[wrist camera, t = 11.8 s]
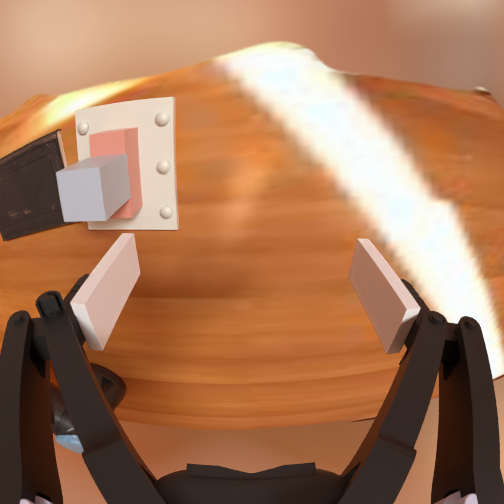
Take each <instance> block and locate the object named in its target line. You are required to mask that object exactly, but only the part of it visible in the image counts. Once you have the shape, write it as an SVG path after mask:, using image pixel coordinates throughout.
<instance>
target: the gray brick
mask: <svg viewBox="0 0 504 504" xmlns="http://www.w3.org/2000/svg"><path fill="white" fill-rule="evenodd" d="M56 176H57V183H58V190H59V196H60V202H61V207H62V213H63V218H64V222H78V221H107V220H108V219H109V218H110V217H111V216H112V215H113V214H114V213H115V212H116V211H117V210H118V209H119V208H120V207H121V206H122V205H123V204H125V203H126V202H127V201H128V200H129V199H130V198H131V194H130V184H129V172H128V158H127V154H116V155H106V156H97V157H88V158H86V159H84V160H81V161H79V162H77V163H75V164H73V165H70V166H68V167H66V168H64V169H62V170H60V171H58V172H56Z"/></svg>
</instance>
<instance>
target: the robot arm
mask: <svg viewBox="0 0 504 504" xmlns="http://www.w3.org/2000/svg"><path fill="white" fill-rule="evenodd" d="M139 275H140V268H139V262H138V257H137V251H136V244H135V238H134V233H122V234H121V236H120V237H119V238H118V239H117V240H116V242H115V243H114V244H113V245H112V247H111V248H110V249H109V250H108V252H107V253H106V254H105V256H104V257H103V258H102V259H101V261H100V262H99V263H98V265H97V266H96V267H95V269H94V270H93V271H92V273H91V274H85V275H84V276H83V277H81V278H80V279H79V280H78V281H77V282H76V284H75V285H74V286H73V288H72V289H71V291H70V292H69V293H68V294H67V296H66V297H65V299H64V300H62V297H61V294H60V293H59V292H57V291H48V292H45V293H43V294H42V295H40V296H39V297H38V298H37V300H36V304H35V305H36V307H37V309H38V312H39V314H40V316H41V318H33V319H31V317H30V315H29V313H28V312H27V311H25V310H23V311H18V312H15V313H14V314H13V315H12V316H11V317H10V318H9V320H8V323H7V327H6V331H5V335H4V340H3V344H2V349H1V354H0V504H63V496H62V491H61V484H60V479H59V474H58V469H57V463H56V457H55V450H54V442H53V433H54V434H55V435H56V441H57V443H58V444H60V445H61V446H63V447H65V448H67V449H69V450H72V451H74V452H77V453H81V454H82V457H83V459H84V462H85V464H86V466H87V468H88V470H89V471H90V474H91V475H92V478H93V479H94V481H95V483H96V485H97V487H98V488H99V490H100V492H101V493H102V495H103V497H104V499H105V500H106V502H107V504H393V503H394V501H395V500H396V498H397V496H398V494H399V492H400V490H401V488H402V486H403V483H404V482H405V480H406V477H407V475H408V473H409V471H410V469H411V466H412V464H413V462H414V459H415V456H416V450H415V449H414V446H415V443H416V440H417V438H418V435H419V432H420V430H421V427H422V424H423V421H424V418H425V415H426V412H427V409H428V406H429V403H430V400H431V396H432V393H433V389H434V386H435V382H436V378H437V374H438V370H439V424H438V440H437V452H436V461H435V469H434V476H433V483H432V491H431V492H432V493H431V504H504V483H503V478H502V474H501V470H500V442H499V426H498V415H497V407H496V399H495V392H494V386H493V379H492V374H491V369H490V364H489V359H488V354H487V350H486V346H485V342H484V338H483V334H482V330H481V327H480V325H479V323H478V322H477V321H476V320H475V319H473V318H471V317H467V316H464V317H462V318H461V319H460V320H459V322H458V324H454V323H448V322H447V320H446V318H445V317H444V316H443V315H442V314H440V313H438V312H435V311H430V310H429V308H428V307H427V306H426V304H425V303H424V301H423V300H422V299H421V297H419V295H418V293H417V292H415V289H414V288H413V287H412V285H411V284H410V283H408V282H407V281H406V280H404V279H399V277H398V276H397V275H396V273H395V272H394V271H393V269H392V268H391V267H390V265H389V264H388V263H387V262H386V260H385V259H384V258H383V256H382V255H381V254H380V253H379V251H378V250H377V249H376V248H375V246H374V245H373V244H372V243H371V241H370V240H369V239H359V238H357V242H356V246H355V251H354V255H353V260H352V264H351V268H350V272H349V276H348V278H349V280H350V282H351V283H352V285H353V287H354V289H355V291H356V293H357V295H358V297H359V299H360V301H361V303H362V305H363V307H364V309H365V311H366V313H367V315H368V317H369V319H370V321H371V323H372V325H373V327H374V329H375V331H376V333H377V335H378V337H379V339H380V341H381V344H382V346H383V348H384V350H385V352H386V354H391V353H398V352H400V350H401V349H402V347H403V345H404V344H405V346H406V347H407V350H406V352H405V354H404V356H403V358H402V360H401V361H400V363H399V365H400V367H399V369H398V372H397V374H396V376H395V379H394V381H393V383H392V385H391V388H390V390H389V392H388V394H387V396H386V398H385V401H384V403H383V405H382V407H381V409H380V411H379V413H378V415H377V417H376V419H375V421H374V423H373V424H372V426H371V428H370V430H369V432H368V434H367V435H366V437H365V439H364V441H363V442H362V444H361V446H360V447H359V449H358V451H357V453H356V454H355V456H354V457H353V459H352V461H351V462H350V464H349V465H348V466H347V467H346V469H345V470H344V471H343V473H342V474H341V475H337V474H335V473H333V472H329V471H326V470H322V469H316V467H315V463H304V464H293V465H283V466H280V467H276V468H273V469H269V470H265V471H261V472H257V473H246V472H241V471H237V470H233V469H229V468H225V467H221V466H211V465H198V464H187V470H181V471H177V472H173V473H171V474H168V475H166V476H163V477H161V478H160V479H159V480H157V479H156V478H155V476H154V475H153V474H152V473H151V471H150V470H149V469H148V467H147V466H146V465H145V463H144V462H143V460H142V459H141V457H140V456H139V454H138V453H137V451H136V450H135V448H134V447H133V445H132V443H131V442H130V440H129V439H128V437H127V435H126V434H125V432H124V430H123V428H122V427H121V425H120V423H119V421H118V420H117V418H116V416H115V414H114V412H113V411H114V410H115V408H116V407H117V406H118V405H119V403H120V402H121V401H122V400H123V398H124V396H125V393H126V386H125V384H124V382H123V381H122V380H121V379H120V378H119V377H118V376H117V375H116V374H114V373H113V372H112V371H110V370H108V369H106V368H104V367H102V366H99V365H96V364H92V363H89V360H88V358H87V356H86V353H85V351H84V349H83V347H82V346H83V344H84V342H85V340H86V343H87V345H88V347H89V349H94V350H100V351H103V350H104V347H105V345H106V343H107V341H108V338H109V336H110V334H111V332H112V330H113V328H114V325H115V323H116V321H117V319H118V317H119V315H120V313H121V311H122V309H123V307H124V305H125V303H126V301H127V299H128V297H129V295H130V293H131V291H132V289H133V287H134V285H135V283H136V281H137V279H138V277H139ZM50 359H51V361H52V365H53V369H54V372H55V376H56V379H57V382H58V385H59V388H58V387H57V386H55V385H54V384H53V383H51V382H50Z"/></svg>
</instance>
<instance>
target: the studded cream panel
mask: <svg viewBox="0 0 504 504" xmlns="http://www.w3.org/2000/svg"><path fill="white" fill-rule="evenodd" d="M76 135H77V149H78V160H79V161H81V160H84V159H86V158H88V157H97V156H106V155H116V154H127V158H128V172H129V184H130V194H131V198H130V199H129V200H128V201H127V202H126V203H125V204H123V205H122V206H121V207H120V208H119V209H118V210H117V211H116V212H115V213H114V214H113V215H112V216H111V217H110V218H109V219H108V220H107V221H87V223H88V228H89V230H178V228H179V216H178V199H177V178H176V142H175V97H164V98H153V99H144V100H135V101H127V102H120V103H114V104H107V105H101V106H96V107H90V108H85V109H81V110H76Z"/></svg>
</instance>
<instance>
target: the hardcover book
mask: <svg viewBox="0 0 504 504" xmlns="http://www.w3.org/2000/svg"><path fill="white" fill-rule="evenodd" d="M60 130H61V129H58V130H56V131H53V132H51V133H49V134H47V135H45V136H43V137H41V138H39V139H37V140H35V141H33V142H31V143H29V144H27V145H25V146H23V147H21V148H19V149H17V150H15V151H14V152H12V153H10V154H8V155H7V156H5V157H3V158H1V159H0V233H1V235H2V238H3V241H6V240H9V239H13V238H16V237H20V236H23V235H27V234H30V233H34V232H38V231H42V230H46V229H49V228H53V227H57V226H61V225H65V224H69V223H74V222H64V218H63V213H62V207H61V202H60V196H59V190H58V183H57V176H56V172H58V171H60V170H62V169H64V168H66V167H68V165H67V160H66V156H65V152H64V147H63V143H62V138H61V133H60Z"/></svg>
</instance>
